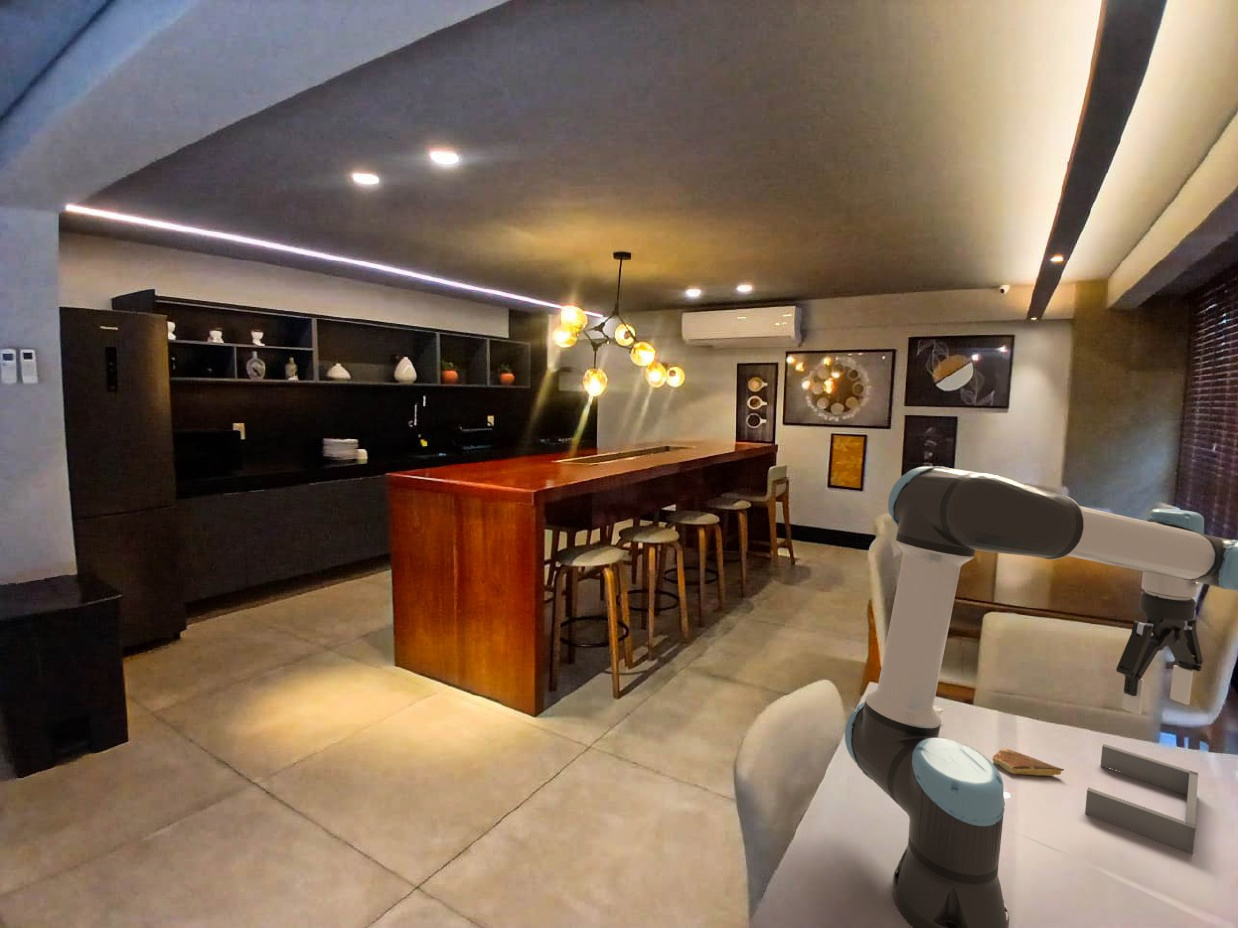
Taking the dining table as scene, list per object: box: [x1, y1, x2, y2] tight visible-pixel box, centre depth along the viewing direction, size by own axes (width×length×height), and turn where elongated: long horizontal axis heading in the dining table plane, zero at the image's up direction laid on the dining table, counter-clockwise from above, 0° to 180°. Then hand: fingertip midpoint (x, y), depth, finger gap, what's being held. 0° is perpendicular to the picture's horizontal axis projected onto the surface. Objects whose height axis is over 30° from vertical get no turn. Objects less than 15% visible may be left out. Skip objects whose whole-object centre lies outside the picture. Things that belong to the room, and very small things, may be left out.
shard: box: [992, 748, 1065, 777], centre depth 125 cm, size 11×8×2 cm
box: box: [1084, 743, 1199, 854], centre depth 116 cm, size 14×22×4 cm, turn 136°
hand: (1155, 706), depth 114 cm, fingers open, 13 cm apart
